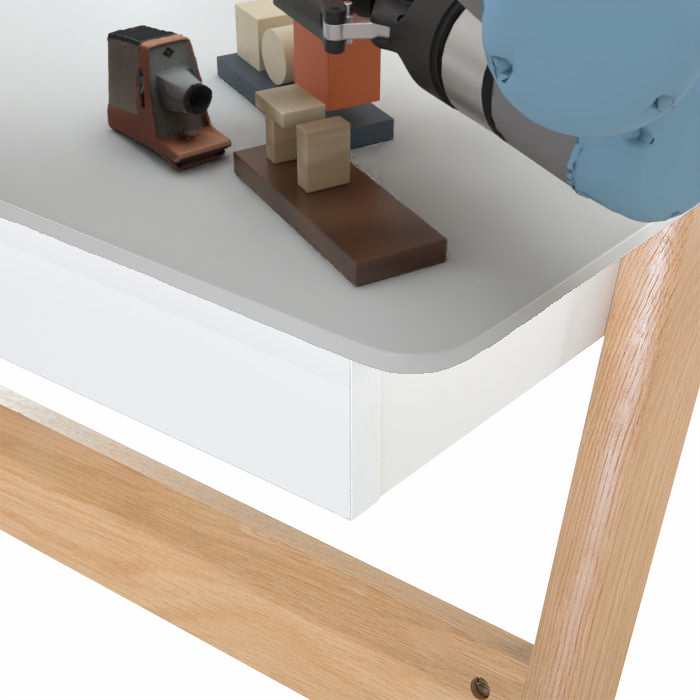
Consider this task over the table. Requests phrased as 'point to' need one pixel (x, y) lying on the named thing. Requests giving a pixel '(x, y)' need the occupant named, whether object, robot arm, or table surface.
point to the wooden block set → (285, 68)
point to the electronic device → (161, 96)
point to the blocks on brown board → (332, 192)
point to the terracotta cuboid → (337, 70)
